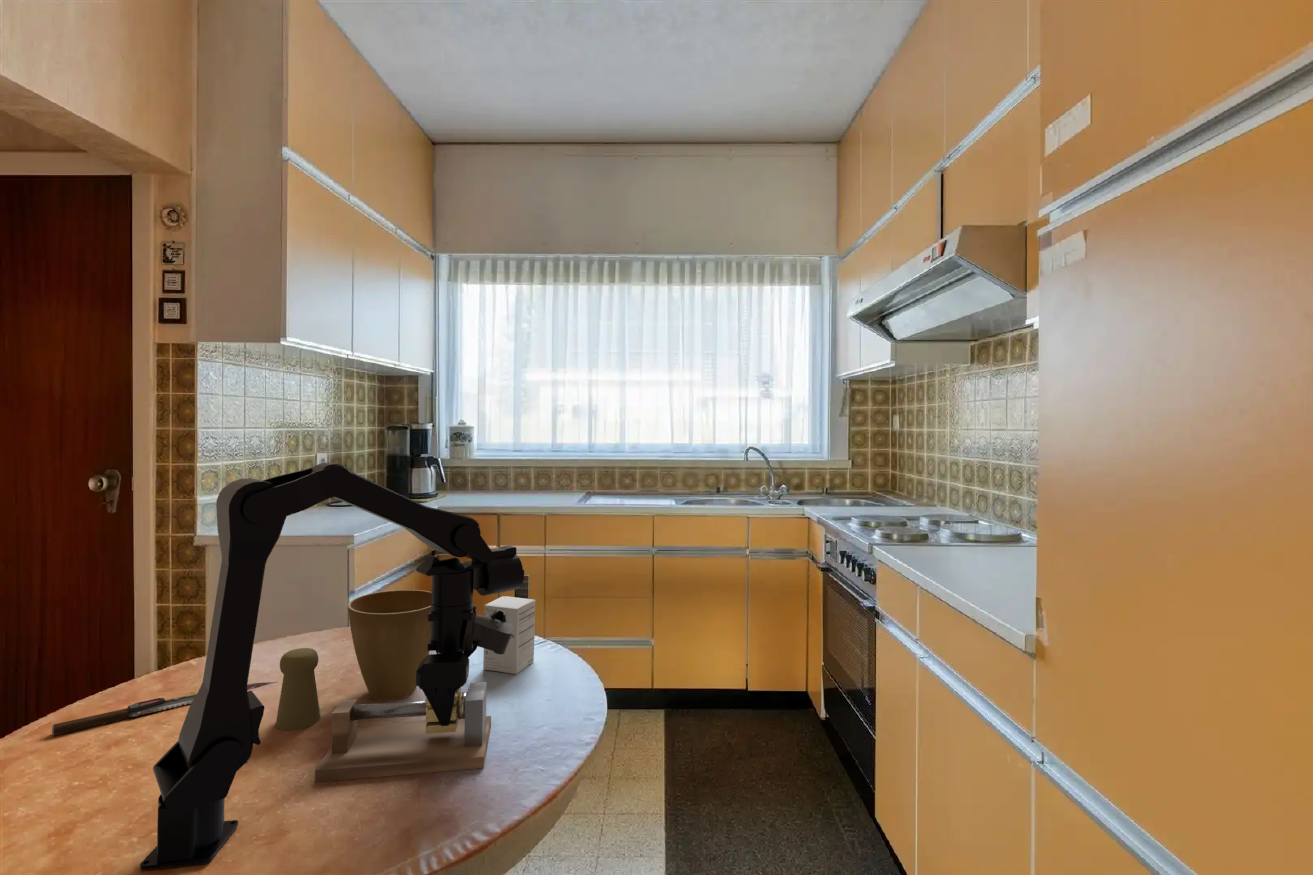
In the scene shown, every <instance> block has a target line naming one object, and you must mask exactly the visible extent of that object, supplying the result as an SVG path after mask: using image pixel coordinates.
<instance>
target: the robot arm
mask: <svg viewBox="0 0 1313 875" xmlns="http://www.w3.org/2000/svg"><path fill="white" fill-rule="evenodd" d="M332 498H334V499H336V500H337V501H340V502H342V503H345V504H348V505H350V506H352V507H355V508H356V509H359V510H361V511H364V512H366V513H369V514H371V515H373V516H376V517H377V518H381V519H383V520H385V521H387V522H390V523H391V524H395V525H396V526H399V527H401V528H403V529H405V530H406V531H408V532H409V533H410V534H412V535H413V536H414V537H415V538H416V539H418V540H419V541H421V542H422V543H424V544H425V545H426V546H428V547H430V548H431V549H433V550H435V551H437V552H440V553H443V554H445V555H446V554H447V555H449V556H453V557H448V558H441V559H439V558H438V557H436V556H434V555H430V554H429V555H428V556H427V557H426V558H425V560H424V561H423V562H421V564H419V565H418V566H417V567H416V568H415V571H416V572H417V573H419V574H422V575H424V576H427V577H430V576H431V584H430V585H431V588H430V589H431V590H430V592H431V610H430V612H429V614H428V621H431V639H430V640H429V642H428V651H429V652H431V651H432V652H434V651H435V652H436V653H434V654H433V653H432V654H430V653H429V655H428V656H427V657H426V658H425V659H423V660H422V661H421V663H420V665H419V667H418V669H417V671H416V686H417V687H418V688H419V690H422V692H423V693H424V696H425V698H426V697H427V699H428V701H429V703H430V705H431V707H432V709H433V711H434V713H435V715H436V717H437V719H438V721H439V723H440V725H441V726H448V725H449V724H450V720H451V715H452V710H453V705H454V700H455V695H456V691H457V690H458V689H459V688H460V687H461V688H462V687H464V686H465V685H466V684H467V682H468V679H469V673H470V659H469V657H470V656H472V654H474V652H475V651H476V650H477V648H478V647H479V648H481V649H484V648H485V649H488V650H491V651H494V653H496V654H501V655H502V654H504V653H505V651H506V648H507V645H508V643H509V640H510V638H511V635H512V632H513V626H512V625H511V622H508V623H507V619H506V612H505V611H502V610H499V609H496V610H495V611H494V612H493V613H492V614H491V615H490V616H489V617H488V615H485V614H484V615H481V614H478V613H477V612H478V610H477V609H478V607H477V605H476V604H475V603H474V591H476V592H477V593H478V594H479V595H480V596H481V597H482V596H483V597H484V596H485V597H486V596H490V595H496V594H499V593H504V592H505V593H506V592H510V591H515V590H518V589H520V588H521V587H522V585H523V583H524V580H525V569H524V568H523V564H522V560H521V559H520V557H519V556H518V554H517V551H518V550H517V547H516V546H513V545H509V544H507V545H503V546H500V547H497V548H490V547H489V545H488V544H487V543H486V541H485V540H484V538H483V537H482V535H481V533H482V532H481V529H480V523H479V522H478V521H477V520H476V519H474V518H473V517H470V516H467V515H462V514H459V513H454V512H450V511H447V510H443V509H439V508H434V507H431V506H427V505H425V504H422V503H420V502H418V501H416V500H413V499H411V498H409V497H407V496H405V495H403V494H400V493H398V492H397V491H394V490H392V489H390V488H387V487H386V486H383V485H381V484H379V483H377V482H375V481H372V480H370V479H368V478H366V477H365V476H362V475H359V474H358V473H355V472H353V471H351V470H350V469H348V467H346V466H345V465H342V464H339V463H333V462H321V463H319V464H316V465H315V466H312V467H308V468H305V469H301V470H297V471H294V472H289V473H285V474H281V475H276V476H273V477H269V478H266V479H263V480H260V479H256V478H251V477H248V478H247V477H246V478H240V479H239V478H238V479H236V480H233V481H231V482H230V483H228V484H227V485H226V486H224V487H222V489H221V490H220V491H219V493H218V496H217V499H216V502H215V503H216V504H215V507H216V522H217V523H216V524H217V534H218V541H219V548H220V551H221V552H220V554H221V562H220V563H221V564H220V570H219V574H218V582H217V589H216V594H215V599H214V600H215V601H214V608H213V613H212V620H211V625H210V632H209V639H208V645H207V652H206V657H205V665H204V672H203V676H202V682H201V685H200V688H199V689H198V691H197V694H196V693H195V694H196V696H195V698H194V700H193V702H192V703H191V704H189V707H188V710H187V714H186V716H185V718H184V721H183V724H182V727H181V730H180V732H179V735H178V740H177V741H176V742H175V743H174V744H173V745H172V747H170V748H169V750H167V751H166V753H165V754H163V756H162V757H161V758H159V760H157V762H156V763H155V764H154V765H153V767H152V770H153V773H154V775H155V776H154V777H155V778H156V782H157V785H158V789H159V791H160V795H159V797H158V802H157V826H156V827H157V830H156V831H157V833H156V834H157V835H156V838H157V842H156V846H155V847H154V848H153V849H152V851H150V853H149V854H148V855H146V857H145V858H144V859H143V860H142V861H141V862H140V863H139V870H141V871H146V870H155V869H156V870H157V869H165V868H173V867H174V868H176V867H184V866H194V865H204V864H207V863H209V862H211V861H212V860H213V859H214V858H215V856H216V855H217V853H218V852H219V850H221V848H222V847H223V845H225V843H226V842H227V840H228V839H229V838H230V837H231V836H232V834H233V833H234V832H235V830H236V829H237V828H238V826H239V820H238V819H233V820H231V819H230V820H225V803H226V802H225V799H226V798H227V796H228V794H229V792H230V789H231V786H232V784H233V781H234V779H235V776H236V774H237V772H238V771H239V770H240V769H241V768H243V766H245V765H246V764H247V763H248V761H249V760H250V758H251V757H252V753H253V749H254V745H256V746H259V745H261V742H262V741H261V738H260V735H259V734H260V727H261V726H260V725H261V723H262V720H263V717H264V713H265V705H264V704H263V703H262V702H261V700H260V699H259V698H258V697H257V695H256V693H254V692H253V691H252V690H247V684H249V682H248V681H249V675H250V668H251V662H252V655H253V650H254V643H255V637H256V629H257V623H258V617H259V610H260V602H261V598H262V597H261V596H262V590H263V582H264V577H265V570H266V564H267V561H268V559H269V557H270V555H271V553H272V551H273V549H274V548H275V546H276V544H277V542H278V541H279V538H280V537H281V534H282V530H283V528H284V525H285V521H286V519H287V517H288V516H291V515H294V514H297V513H301V512H302V511H305V510H307V509H309V508H312V507H314V506H315V505H318V504H320V503H322V502H324V501H326V500H329V499H332ZM459 558H467V559H471V560H468V561H461V559H459Z"/></svg>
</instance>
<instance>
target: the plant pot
mask: <svg viewBox="0 0 1313 875" xmlns="http://www.w3.org/2000/svg"><path fill="white" fill-rule="evenodd" d="M347 610H348V612H347V613H348V619H349V628H350V632H351V637H352V638H351V639H352V643H353V649H354V651H355V656H356V660H357V663H358V666H359V667H358V668H359V670H360V672H361V675H362V678H363V681H364V684H365V687H366V689H367V691H368V694H369V696H370V697H371V698H372V699H374V700H379V701H393V700H398V699H402V698H405V697H408V696H410V695H411V694H412V693H414V692H415V690H416V688H417V687H418V686H416V671H417V669H418V667H419V665H420V663H421V661H422V660H423V659H425V658H426V657H427V656H428V655H429V654H430V651H428V642H429V640H430V639H431V621H428V614H429V612H430V610H431V591H428V590H421V589H394V590H385V591H384V590H383V591H377V592H371V593H366V594H363V595H359V596H358V597H355V598H353V599H351V600H350V601H349V602H348V604H347Z"/></svg>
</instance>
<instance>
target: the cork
mask: <svg viewBox="0 0 1313 875" xmlns="http://www.w3.org/2000/svg"><path fill="white" fill-rule="evenodd" d="M318 663H319V655H318V652H317V651H316V649H314V648H309V647H301V648H295V649H291V650H288V651H286V652H284V653H283V655H282V656H281V658H280V661H279V669H280V672H281V673H282V674H283V678H282V684H281V690H280V695H279V702H278V709H277V713H276V714H277V715H276V720H275V728H276V729H277V730H281V731H296V730H301V729H305V728H307V727H308V728H309V727H311V726H314V723H315V724H316V723H317V722H319V721H320V720H321V711H320V703H319V696H318V688H317V681H316V674H315V669H316V668H317V666H318Z"/></svg>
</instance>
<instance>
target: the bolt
mask: <svg viewBox="0 0 1313 875" xmlns="http://www.w3.org/2000/svg"><path fill="white" fill-rule="evenodd" d="M487 685H488V684H487V681H482V682H470V683H469V686H468V689H467V691H460V694H459V698H458V700H457V703H456V704H457V714H458V720H461V719H465V736H464V747H473V746H482V744H483V739H484V734H485V728H486V716H487V696H488V694H487V690H488V689H487V687H488V686H487ZM456 704H454V705H456ZM426 708H427V706H426V700H413V701H397V702H382V703H379V702H378V703H365V704H364V703H363V704H357V705H353V706H352V708H351V714H350V719H351V721H354V720H357V721H365V720H368V721H369V720H379V719H380V720H382V719H396V718H399V719H401V718H411V717H412V718H413V717H426Z"/></svg>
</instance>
